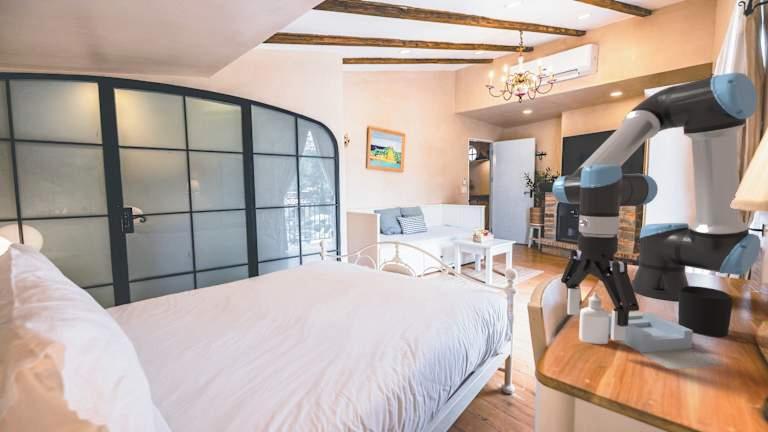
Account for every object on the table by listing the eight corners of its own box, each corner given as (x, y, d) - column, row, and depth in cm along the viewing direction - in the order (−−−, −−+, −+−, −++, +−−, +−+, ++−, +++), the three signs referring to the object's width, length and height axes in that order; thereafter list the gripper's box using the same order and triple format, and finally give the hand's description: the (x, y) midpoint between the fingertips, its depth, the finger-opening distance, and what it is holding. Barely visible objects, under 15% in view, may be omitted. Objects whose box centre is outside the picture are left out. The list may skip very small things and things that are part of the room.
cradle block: (649, 328, 81) (650, 312, 81) (691, 348, 71) (692, 330, 71) (605, 331, 80) (606, 315, 79) (642, 352, 70) (643, 334, 70)
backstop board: (638, 324, 85) (638, 311, 85) (727, 366, 65) (728, 350, 65) (592, 328, 83) (592, 314, 83) (669, 372, 64) (670, 355, 63)
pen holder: (741, 338, 77) (744, 297, 76) (708, 342, 75) (711, 300, 74) (696, 322, 86) (699, 284, 85) (666, 325, 84) (668, 287, 83)
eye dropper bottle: (606, 350, 72) (608, 298, 71) (577, 342, 76) (579, 292, 75) (609, 343, 76) (611, 292, 74) (581, 336, 79) (583, 287, 78)
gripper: (547, 227, 85) (545, 306, 87) (630, 245, 61) (624, 354, 63) (574, 226, 86) (571, 304, 88) (666, 243, 61) (659, 351, 64)
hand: (593, 325), depth 75 cm, fingers open, 13 cm apart
